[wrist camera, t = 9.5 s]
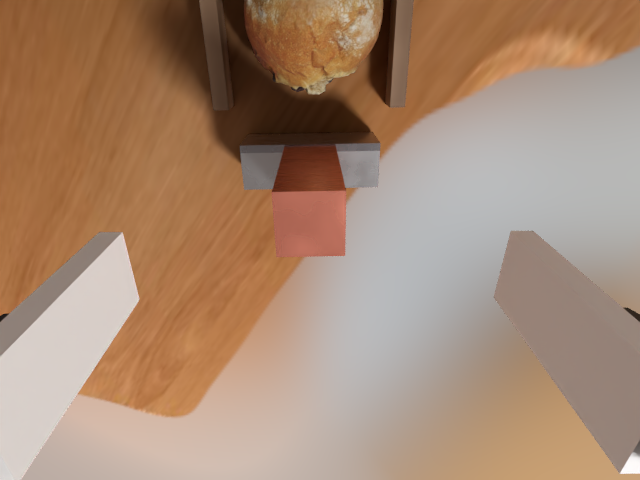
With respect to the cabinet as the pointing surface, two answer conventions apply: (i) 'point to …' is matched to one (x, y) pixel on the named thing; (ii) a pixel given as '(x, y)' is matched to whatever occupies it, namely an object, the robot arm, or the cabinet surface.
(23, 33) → the cabinet surface
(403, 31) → the frame
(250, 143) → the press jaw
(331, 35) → the bread roll
